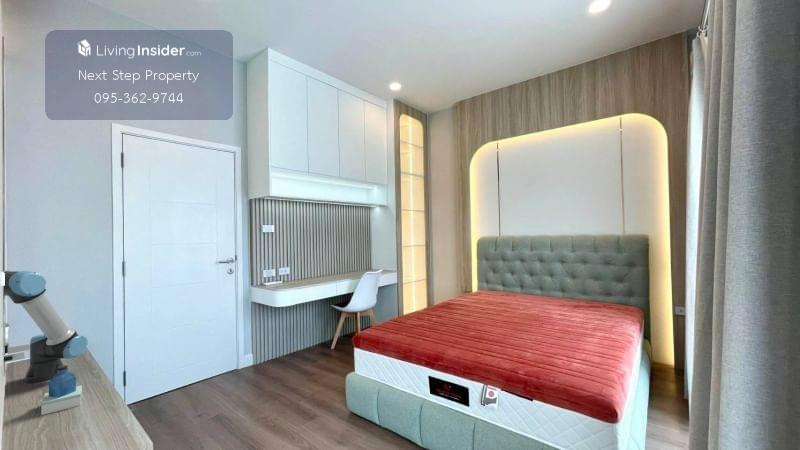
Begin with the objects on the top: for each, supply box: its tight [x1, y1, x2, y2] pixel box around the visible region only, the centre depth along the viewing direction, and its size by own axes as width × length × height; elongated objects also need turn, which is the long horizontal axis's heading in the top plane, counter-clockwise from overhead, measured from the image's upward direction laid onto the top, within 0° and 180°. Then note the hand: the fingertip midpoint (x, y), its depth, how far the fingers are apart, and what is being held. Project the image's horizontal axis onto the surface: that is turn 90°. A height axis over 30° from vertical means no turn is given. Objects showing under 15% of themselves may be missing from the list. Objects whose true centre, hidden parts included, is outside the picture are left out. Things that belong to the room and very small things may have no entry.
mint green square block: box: [40, 384, 83, 416], centre depth 150 cm, size 12×12×5 cm
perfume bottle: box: [48, 364, 77, 398], centre depth 150 cm, size 6×6×12 cm
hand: (27, 350), depth 146 cm, fingers open, 13 cm apart
